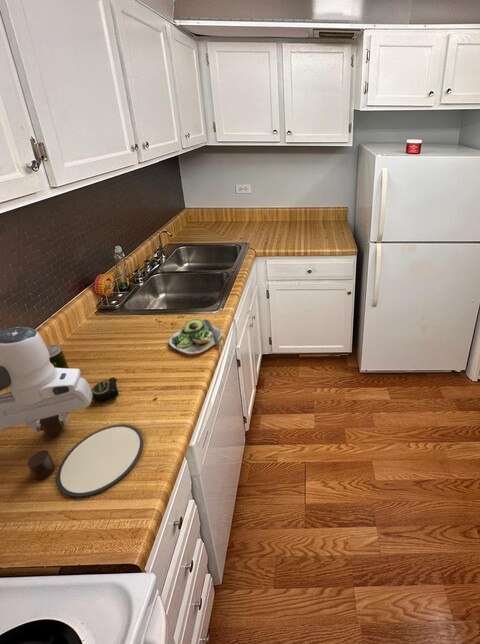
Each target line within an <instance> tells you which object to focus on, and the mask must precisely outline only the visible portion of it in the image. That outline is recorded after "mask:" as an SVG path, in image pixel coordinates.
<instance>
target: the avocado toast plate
mask: <svg viewBox="0 0 480 644" xmlns="http://www.w3.org/2000/svg"><path fill="white" fill-rule="evenodd" d="M222 335H223V332H222V329H221V328H219V327H217V326H214V325H213V324H211V322H210V321H209V319H206V318H205V319H203V320H202V319H201V318H194V319H193V318H192V319H191V320H189V321H188V322H186V323H184V325H183V327H182V329H181V330H179V331H177V332H176V333H174V334H173V335H171V336H170V338H169V340H168V344H169V347H170V348H171V349H173V350H174V351H178V352H180V353H183V354H186V355H198V354H203V353H205V352H208V350H210V349H211V348H212V347H213V346H221V345H222V342H221V340H220V339H221V338H222V337H223V336H222Z"/></svg>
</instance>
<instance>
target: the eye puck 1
mask: <svg viewBox="0 0 480 644" xmlns="http://www.w3.org/2000/svg"><path fill="white" fill-rule="evenodd" d="M60 417H61V415H60V414H59V415H55V416H51V417H47V418H43V419H40V420H38V422H39V423H40V425H41V427H42V430H43V431H42V432H43V434H44V436H45V438H46V439H52V438H55V437H57V436H59V435H60V434H61V433H62V432H63V431H64V428H65V425H62V426H60V424H59V420H60Z"/></svg>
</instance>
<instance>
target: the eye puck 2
mask: <svg viewBox="0 0 480 644" xmlns="http://www.w3.org/2000/svg"><path fill="white" fill-rule="evenodd" d="M26 466H27V468H28V470H29V472H30V474H31V476H32V478H33V480H34V482H35V481H36V482H41V481H42V482H43V481H45V480H46V479H48V478H49V477H51V476H52V475H53V473H55V470H56V465H55V463H54V461H53V458H52V455H51V454H50V451H48V450H47V449H42V450H39V451H36V452H35V453H33V454H32V455H31V456H30V457H29V458H28V459H27V462H26Z"/></svg>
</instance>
